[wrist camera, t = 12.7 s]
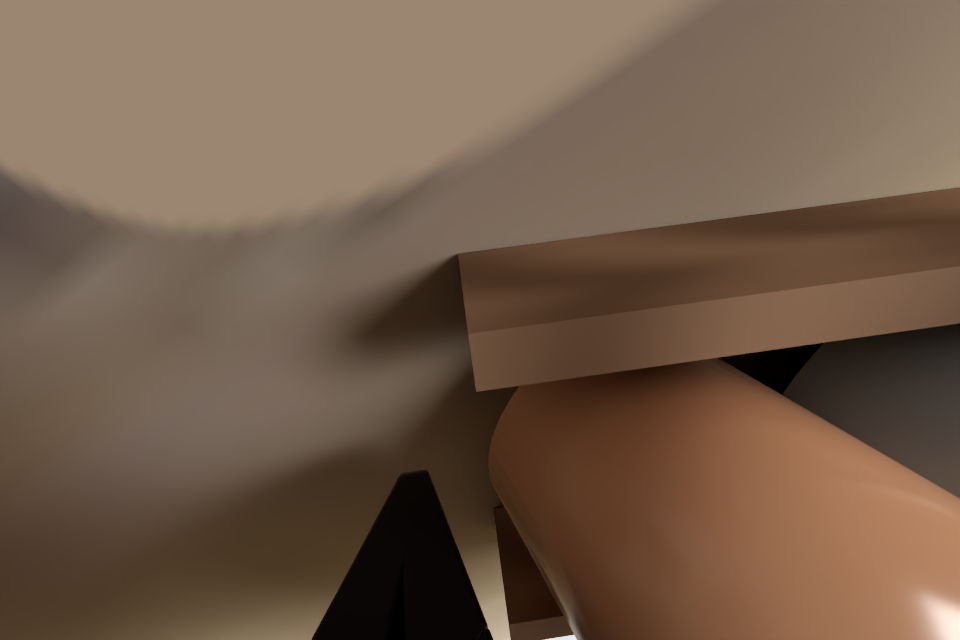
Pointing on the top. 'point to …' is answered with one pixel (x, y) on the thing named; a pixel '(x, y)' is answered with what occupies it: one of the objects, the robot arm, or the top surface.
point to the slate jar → (892, 396)
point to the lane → (699, 309)
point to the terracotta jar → (720, 513)
